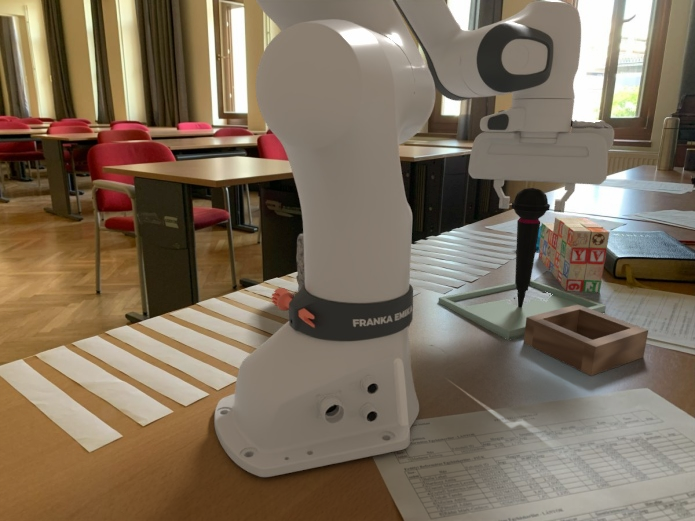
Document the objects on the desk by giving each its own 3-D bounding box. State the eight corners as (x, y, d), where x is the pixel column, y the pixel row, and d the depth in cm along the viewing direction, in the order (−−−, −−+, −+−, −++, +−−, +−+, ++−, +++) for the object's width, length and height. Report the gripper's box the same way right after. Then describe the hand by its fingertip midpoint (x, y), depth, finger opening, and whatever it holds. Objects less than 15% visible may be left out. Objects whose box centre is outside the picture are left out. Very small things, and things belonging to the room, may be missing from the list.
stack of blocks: (536, 262, 115) (543, 208, 112) (565, 264, 115) (572, 209, 111) (564, 294, 95) (573, 229, 92) (600, 296, 94) (610, 230, 91)
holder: (591, 375, 65) (595, 346, 64) (523, 343, 74) (526, 317, 73) (643, 357, 70) (648, 330, 69) (574, 328, 79) (577, 304, 78)
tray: (508, 341, 75) (509, 331, 74) (438, 306, 88) (438, 297, 88) (604, 314, 85) (606, 305, 85) (528, 287, 99) (529, 279, 98)
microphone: (542, 305, 87) (555, 187, 82) (530, 315, 83) (544, 191, 77) (510, 298, 90) (521, 184, 85) (497, 307, 86) (508, 188, 81)
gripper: (614, 120, 77) (601, 211, 81) (476, 119, 85) (470, 202, 88) (618, 120, 72) (604, 218, 75) (470, 119, 79) (463, 208, 83)
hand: (530, 209), depth 82 cm, fingers open, 7 cm apart
